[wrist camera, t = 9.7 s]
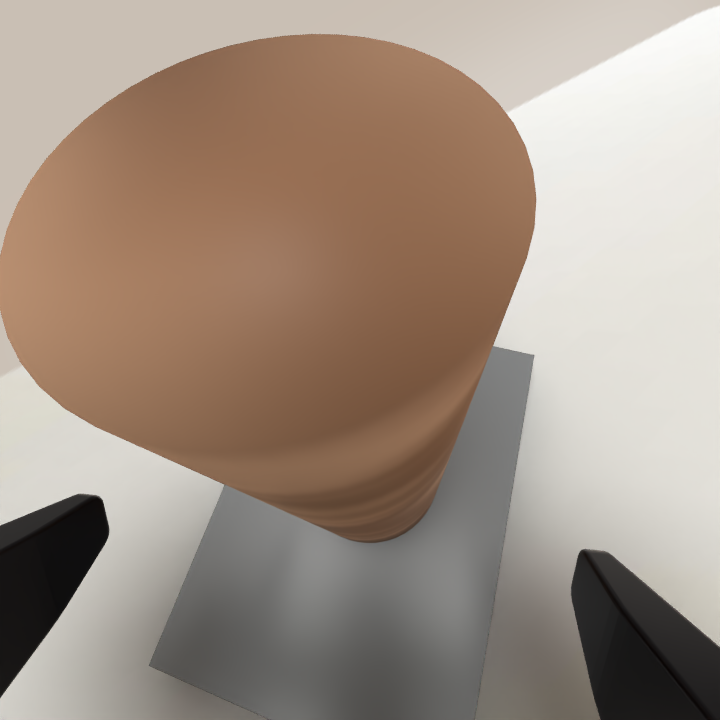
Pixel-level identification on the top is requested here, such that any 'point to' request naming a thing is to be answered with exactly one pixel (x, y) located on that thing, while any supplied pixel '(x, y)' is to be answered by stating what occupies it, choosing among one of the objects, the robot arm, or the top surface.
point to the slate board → (357, 591)
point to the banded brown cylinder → (279, 270)
